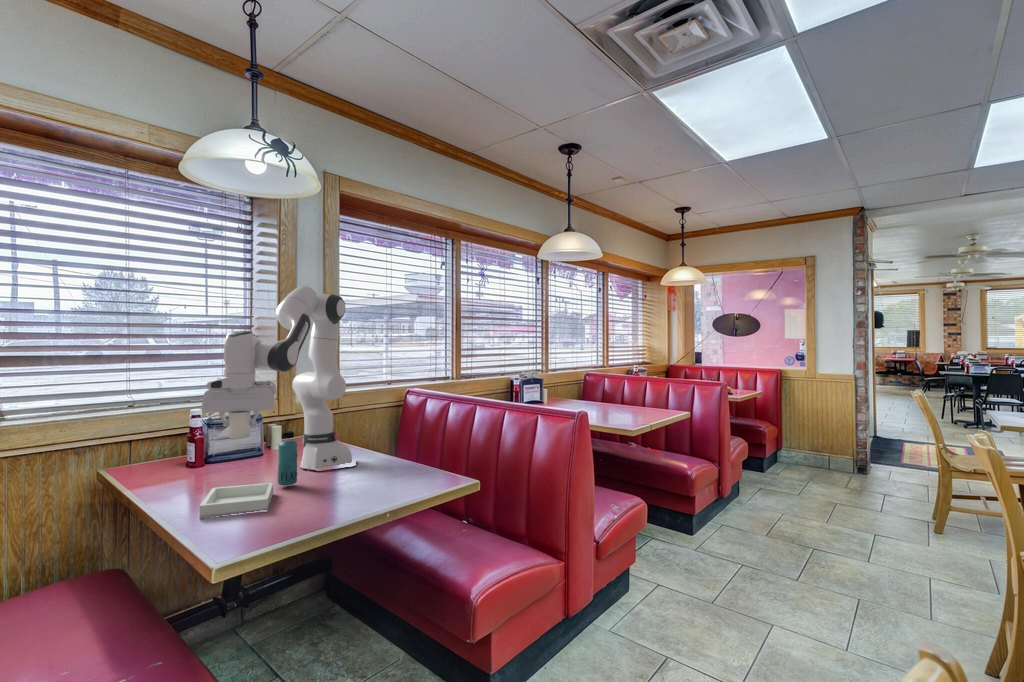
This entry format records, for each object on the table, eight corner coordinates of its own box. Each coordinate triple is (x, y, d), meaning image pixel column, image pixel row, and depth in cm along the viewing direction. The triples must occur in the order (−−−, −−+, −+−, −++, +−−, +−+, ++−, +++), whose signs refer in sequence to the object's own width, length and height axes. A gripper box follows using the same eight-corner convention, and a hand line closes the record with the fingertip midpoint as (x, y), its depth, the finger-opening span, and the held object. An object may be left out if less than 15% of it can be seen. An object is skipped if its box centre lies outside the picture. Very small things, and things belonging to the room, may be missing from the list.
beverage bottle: (277, 491, 171) (278, 433, 170) (277, 485, 177) (277, 430, 176) (298, 488, 174) (298, 432, 173) (296, 483, 180) (297, 429, 179)
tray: (273, 494, 167) (273, 482, 167) (267, 512, 150) (267, 499, 150) (212, 500, 161) (212, 487, 161) (199, 519, 144) (199, 505, 144)
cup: (251, 434, 159) (251, 409, 159) (248, 438, 154) (248, 412, 154) (230, 435, 157) (230, 410, 157) (227, 439, 151) (227, 413, 151)
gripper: (276, 380, 162) (276, 421, 162) (205, 381, 155) (205, 425, 155) (275, 381, 156) (274, 425, 156) (200, 383, 149) (200, 428, 149)
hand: (239, 425), depth 155 cm, fingers closed on cup, 6 cm apart
